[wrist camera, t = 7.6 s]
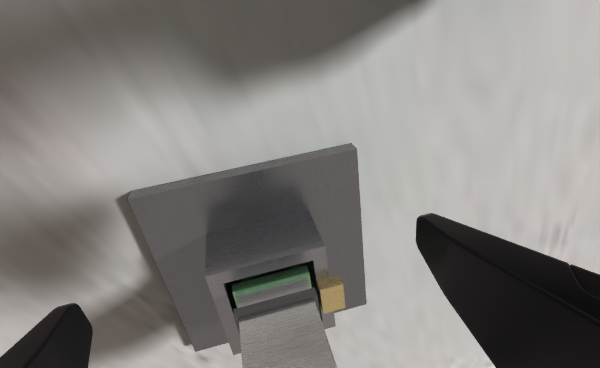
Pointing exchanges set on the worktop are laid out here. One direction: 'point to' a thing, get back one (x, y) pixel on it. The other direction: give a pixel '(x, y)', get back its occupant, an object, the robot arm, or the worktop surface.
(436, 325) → the worktop surface
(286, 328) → the gray rectangular plug
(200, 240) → the stand base
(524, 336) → the robot arm
